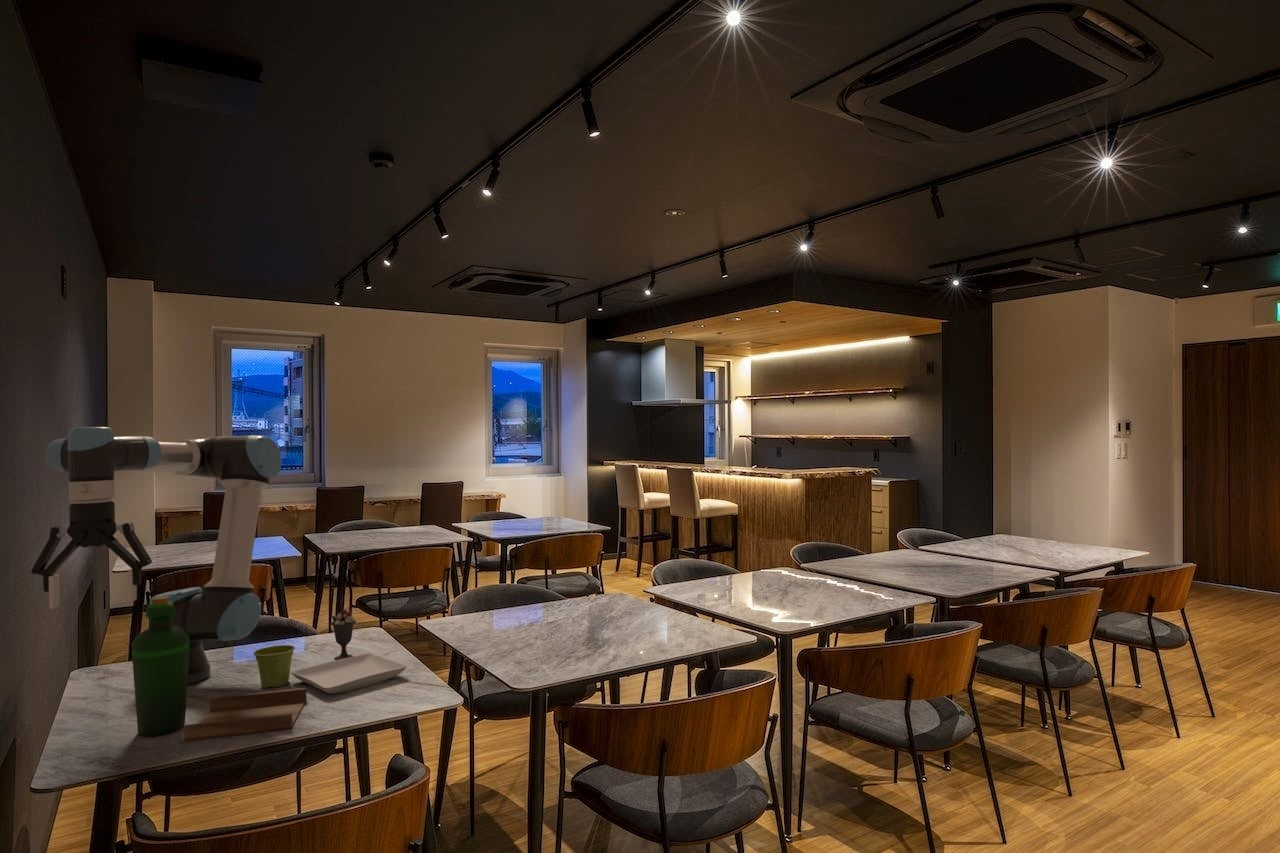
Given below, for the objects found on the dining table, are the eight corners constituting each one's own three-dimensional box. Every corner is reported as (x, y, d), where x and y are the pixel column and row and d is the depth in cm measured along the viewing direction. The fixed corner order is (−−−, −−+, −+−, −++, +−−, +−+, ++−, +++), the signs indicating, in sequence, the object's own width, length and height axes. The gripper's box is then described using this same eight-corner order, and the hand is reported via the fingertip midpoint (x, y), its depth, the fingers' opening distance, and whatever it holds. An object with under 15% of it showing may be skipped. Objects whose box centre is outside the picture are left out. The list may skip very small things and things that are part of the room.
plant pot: (247, 686, 182) (246, 651, 182) (284, 676, 190) (283, 642, 190) (265, 693, 176) (264, 657, 177) (302, 682, 184) (302, 648, 184)
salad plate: (290, 683, 184) (289, 670, 184) (369, 663, 200) (369, 651, 200) (326, 702, 170) (326, 687, 170) (409, 679, 185) (408, 665, 186)
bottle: (180, 716, 162) (179, 590, 163) (198, 727, 155) (197, 596, 156) (123, 732, 154) (123, 599, 154) (140, 744, 147) (139, 605, 148)
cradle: (211, 711, 165) (211, 697, 165) (306, 700, 170) (306, 687, 170) (184, 741, 148) (184, 726, 148) (291, 729, 153) (291, 714, 153)
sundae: (361, 656, 206) (360, 603, 207) (340, 662, 200) (340, 608, 201) (347, 653, 210) (346, 601, 210) (326, 659, 204) (325, 605, 204)
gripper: (9, 506, 142) (11, 614, 142) (155, 499, 150) (157, 602, 150) (28, 503, 150) (29, 606, 149) (167, 496, 157) (169, 594, 157)
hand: (94, 604), depth 150 cm, fingers open, 13 cm apart
